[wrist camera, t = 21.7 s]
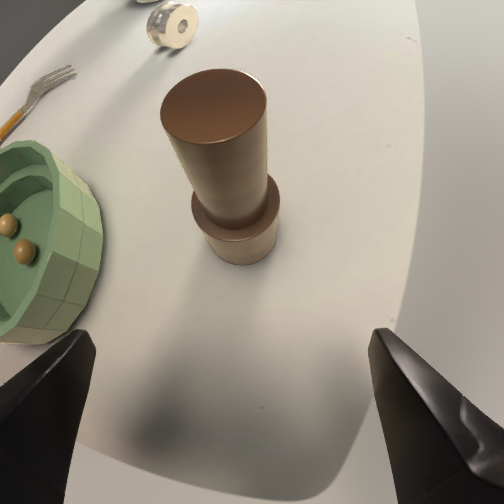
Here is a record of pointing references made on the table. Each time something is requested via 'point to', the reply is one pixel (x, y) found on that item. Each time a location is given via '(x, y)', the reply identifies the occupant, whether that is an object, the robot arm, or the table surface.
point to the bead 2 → (24, 251)
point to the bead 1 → (8, 225)
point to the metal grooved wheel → (172, 25)
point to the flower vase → (146, 1)
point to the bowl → (45, 244)
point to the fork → (35, 96)
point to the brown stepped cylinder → (225, 160)
